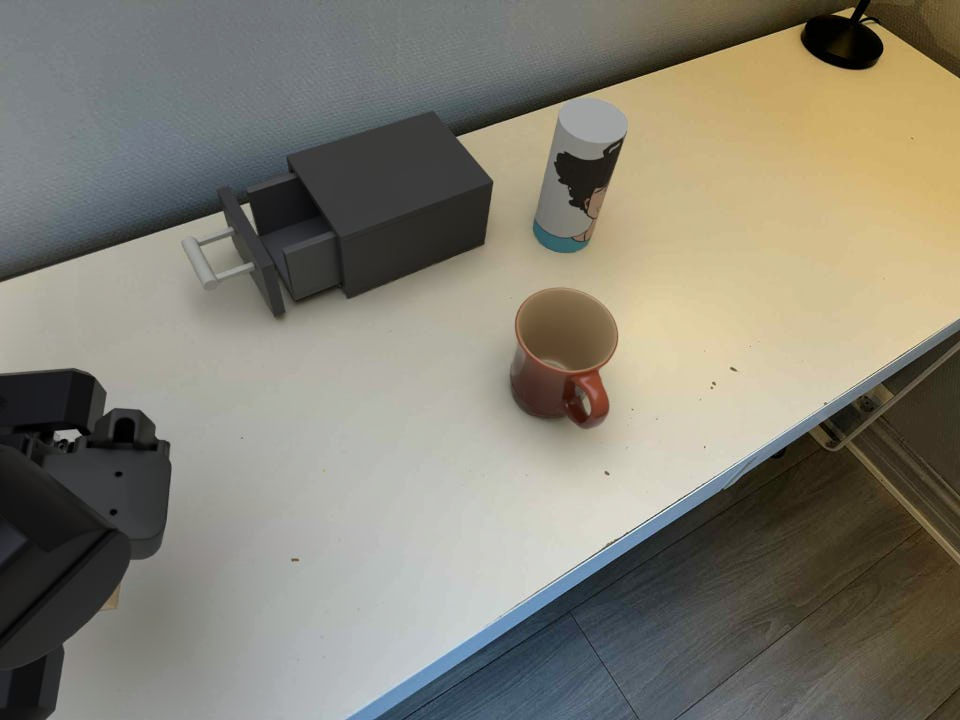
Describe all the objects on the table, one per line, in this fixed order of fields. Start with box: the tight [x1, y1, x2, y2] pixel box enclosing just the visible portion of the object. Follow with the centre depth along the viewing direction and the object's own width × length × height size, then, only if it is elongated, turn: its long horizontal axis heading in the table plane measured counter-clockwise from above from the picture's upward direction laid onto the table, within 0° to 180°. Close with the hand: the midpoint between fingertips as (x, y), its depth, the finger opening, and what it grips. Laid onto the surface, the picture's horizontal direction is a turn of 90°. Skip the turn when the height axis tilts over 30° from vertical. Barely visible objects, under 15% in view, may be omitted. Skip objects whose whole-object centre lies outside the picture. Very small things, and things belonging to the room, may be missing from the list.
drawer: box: [180, 173, 343, 318], centre depth 65 cm, size 20×11×7 cm, turn 122°
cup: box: [532, 96, 629, 254], centre depth 69 cm, size 7×7×15 cm
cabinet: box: [285, 110, 495, 300], centre depth 69 cm, size 17×12×9 cm
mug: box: [509, 287, 619, 430], centre depth 59 cm, size 12×9×10 cm
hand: (78, 574), depth 42 cm, fingers closed on block, 4 cm apart
